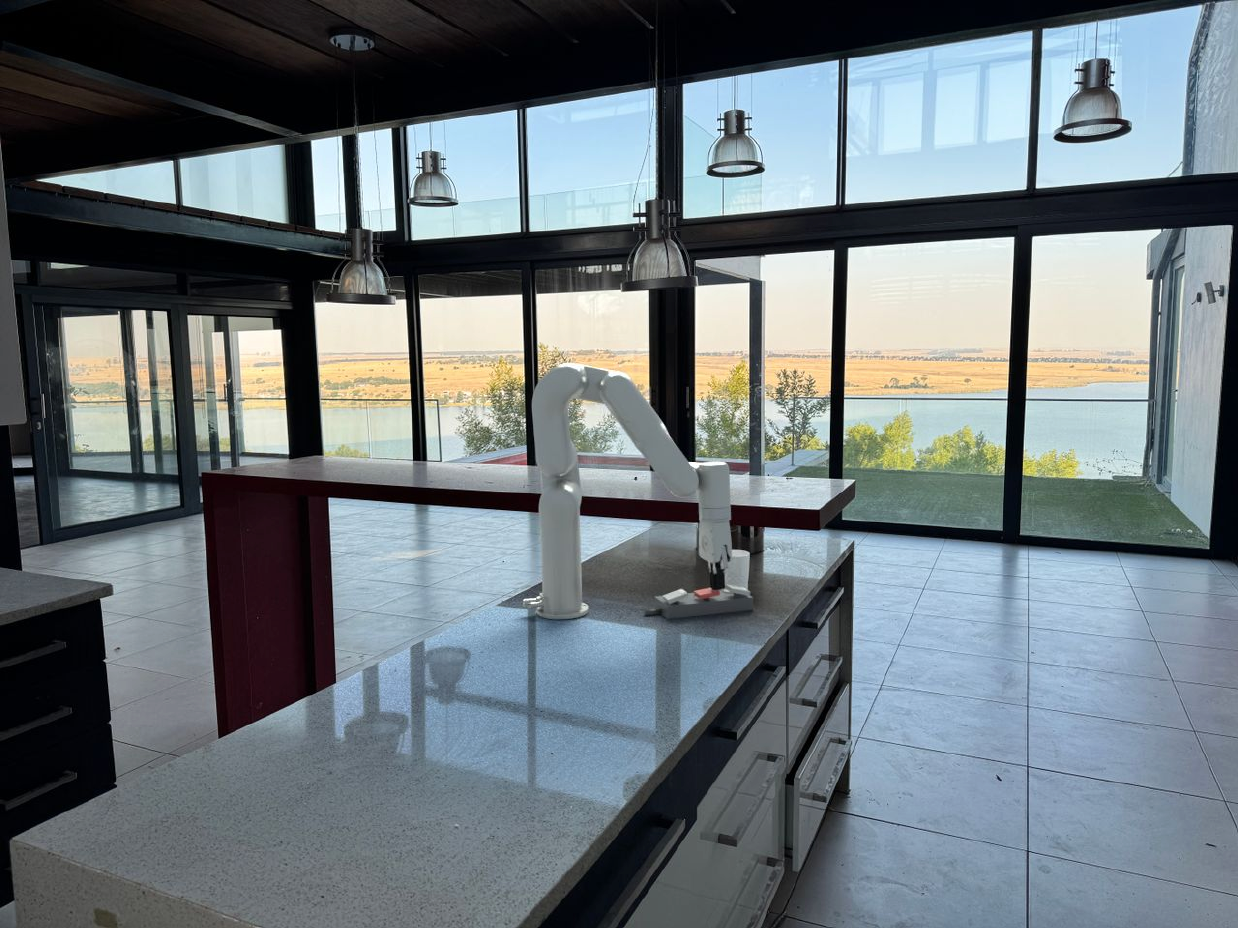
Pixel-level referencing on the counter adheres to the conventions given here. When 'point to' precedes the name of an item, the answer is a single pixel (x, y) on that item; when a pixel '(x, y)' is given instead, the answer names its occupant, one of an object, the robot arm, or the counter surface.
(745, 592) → the rocker outlet
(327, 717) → the counter surface
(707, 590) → the outlet rocker
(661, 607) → the power strip
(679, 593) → the outlet rocker
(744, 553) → the white cup
